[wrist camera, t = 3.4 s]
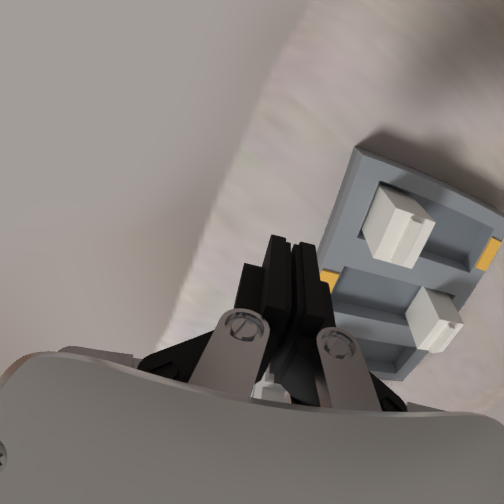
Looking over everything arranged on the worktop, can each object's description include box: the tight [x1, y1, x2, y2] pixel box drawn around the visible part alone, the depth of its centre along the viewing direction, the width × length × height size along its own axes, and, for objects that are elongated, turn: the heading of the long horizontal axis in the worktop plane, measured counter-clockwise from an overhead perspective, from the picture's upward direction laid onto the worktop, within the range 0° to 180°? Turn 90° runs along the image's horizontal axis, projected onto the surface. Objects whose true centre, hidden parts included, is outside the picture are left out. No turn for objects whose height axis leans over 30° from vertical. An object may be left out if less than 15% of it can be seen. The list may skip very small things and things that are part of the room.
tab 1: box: [361, 184, 436, 269], centre depth 18 cm, size 4×3×5 cm
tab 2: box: [405, 286, 464, 353], centre depth 22 cm, size 4×3×5 cm
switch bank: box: [317, 146, 504, 381], centre depth 24 cm, size 21×15×3 cm
